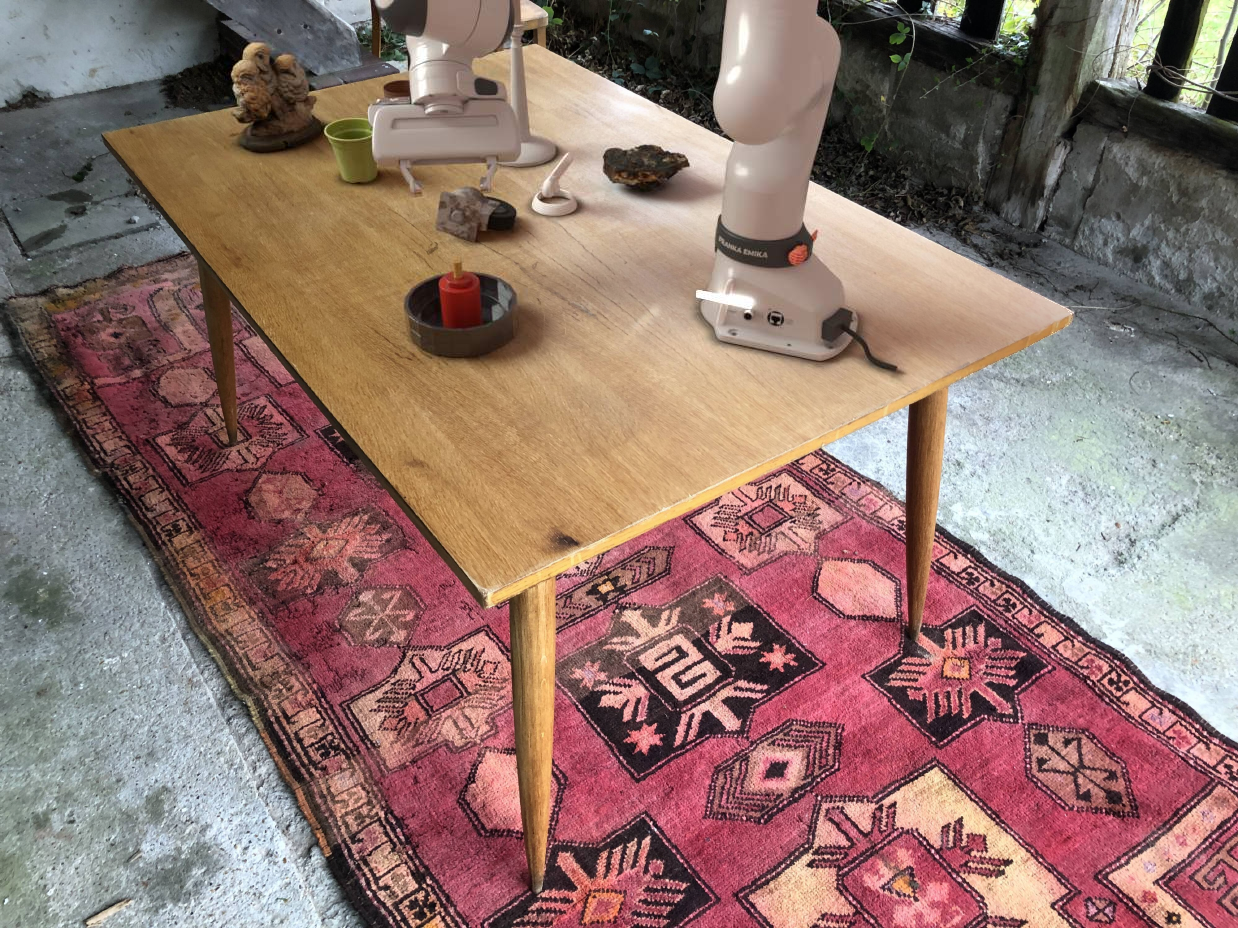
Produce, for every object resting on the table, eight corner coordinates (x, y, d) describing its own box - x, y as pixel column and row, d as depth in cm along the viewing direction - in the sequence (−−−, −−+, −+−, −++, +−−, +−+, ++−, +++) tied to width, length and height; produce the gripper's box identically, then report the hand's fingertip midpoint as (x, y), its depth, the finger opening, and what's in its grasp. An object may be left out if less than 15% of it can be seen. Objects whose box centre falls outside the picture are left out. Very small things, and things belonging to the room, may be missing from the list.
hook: (592, 196, 157) (556, 170, 155) (556, 237, 166) (522, 214, 164) (604, 168, 162) (570, 142, 159) (569, 210, 171) (536, 186, 168)
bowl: (539, 321, 139) (538, 290, 135) (475, 374, 129) (472, 343, 125) (453, 291, 144) (450, 261, 141) (385, 340, 134) (380, 309, 131)
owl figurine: (264, 161, 176) (243, 64, 165) (220, 145, 181) (196, 50, 170) (337, 129, 188) (321, 36, 177) (293, 115, 193) (275, 24, 181)
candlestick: (553, 168, 177) (548, -10, 157) (482, 165, 177) (469, -12, 157) (557, 139, 187) (554, -31, 167) (491, 137, 187) (479, -34, 167)
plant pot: (398, 174, 174) (391, 126, 168) (360, 193, 168) (352, 144, 162) (359, 161, 177) (352, 113, 172) (321, 179, 171) (312, 131, 166)
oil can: (490, 322, 137) (485, 257, 130) (467, 341, 133) (461, 275, 126) (459, 311, 139) (453, 247, 132) (435, 329, 135) (428, 264, 128)
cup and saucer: (446, 110, 196) (443, 79, 192) (423, 133, 187) (419, 101, 183) (390, 104, 198) (386, 73, 194) (364, 126, 189) (360, 94, 185)
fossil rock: (625, 208, 165) (626, 175, 162) (592, 176, 175) (592, 144, 171) (696, 195, 170) (699, 163, 166) (660, 164, 179) (662, 133, 176)
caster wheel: (517, 232, 164) (500, 252, 155) (453, 211, 164) (433, 230, 155) (525, 194, 160) (509, 213, 152) (459, 173, 160) (440, 190, 152)
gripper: (363, 88, 131) (371, 189, 130) (516, 83, 133) (525, 182, 132) (369, 108, 137) (376, 205, 136) (515, 103, 140) (523, 198, 139)
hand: (451, 194), depth 134 cm, fingers open, 8 cm apart
